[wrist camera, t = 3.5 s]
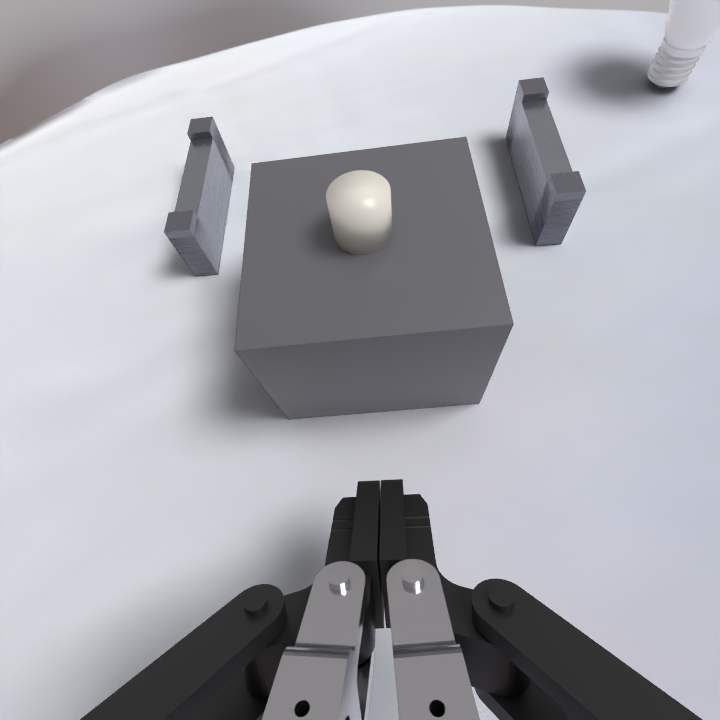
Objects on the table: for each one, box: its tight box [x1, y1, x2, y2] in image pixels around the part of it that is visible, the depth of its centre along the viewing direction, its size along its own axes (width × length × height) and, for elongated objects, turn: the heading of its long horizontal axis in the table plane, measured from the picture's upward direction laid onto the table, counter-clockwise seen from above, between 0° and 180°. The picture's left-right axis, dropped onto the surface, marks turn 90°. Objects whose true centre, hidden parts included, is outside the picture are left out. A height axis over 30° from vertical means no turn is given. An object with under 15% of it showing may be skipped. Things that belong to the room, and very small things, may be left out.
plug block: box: [234, 137, 513, 419], centre depth 20 cm, size 10×10×10 cm
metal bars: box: [164, 78, 586, 276], centre depth 27 cm, size 23×10×4 cm, turn 92°
